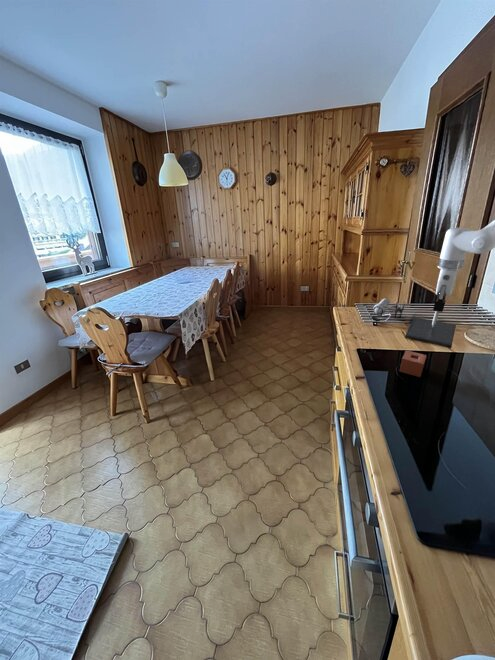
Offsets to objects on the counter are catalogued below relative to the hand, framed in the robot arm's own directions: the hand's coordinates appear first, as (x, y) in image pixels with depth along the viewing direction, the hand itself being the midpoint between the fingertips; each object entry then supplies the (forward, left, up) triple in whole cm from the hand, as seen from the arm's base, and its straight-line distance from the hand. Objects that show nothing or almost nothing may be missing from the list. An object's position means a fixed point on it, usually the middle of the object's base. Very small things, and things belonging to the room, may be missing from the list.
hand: (438, 309), depth 111 cm
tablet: (0, +3, -9) cm, 9 cm away
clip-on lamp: (+19, -4, -9) cm, 21 cm away
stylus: (0, 0, -8) cm, 8 cm away
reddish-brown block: (+2, +35, -9) cm, 36 cm away
